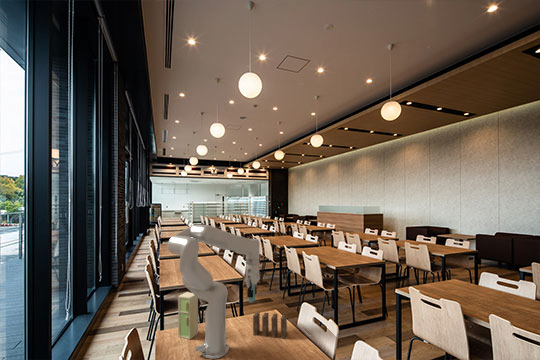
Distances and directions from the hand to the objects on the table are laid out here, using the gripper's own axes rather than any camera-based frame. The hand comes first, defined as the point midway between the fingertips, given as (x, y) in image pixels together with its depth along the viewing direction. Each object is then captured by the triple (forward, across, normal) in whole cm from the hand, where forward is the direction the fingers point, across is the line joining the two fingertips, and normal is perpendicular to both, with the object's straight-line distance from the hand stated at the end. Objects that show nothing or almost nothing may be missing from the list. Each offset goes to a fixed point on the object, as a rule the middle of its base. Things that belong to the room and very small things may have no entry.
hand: (251, 295), depth 147 cm
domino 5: (+19, -1, -18) cm, 26 cm away
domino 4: (+19, -1, -13) cm, 23 cm away
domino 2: (+19, -1, -3) cm, 19 cm away
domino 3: (+19, -1, -8) cm, 21 cm away
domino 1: (+3, 0, 0) cm, 3 cm away
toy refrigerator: (+20, -13, +31) cm, 39 cm away
